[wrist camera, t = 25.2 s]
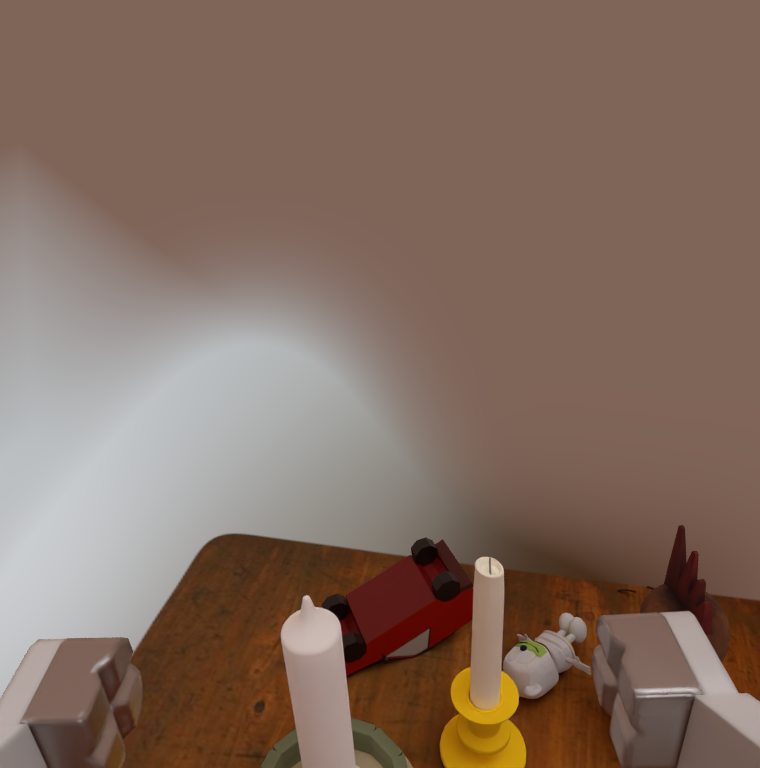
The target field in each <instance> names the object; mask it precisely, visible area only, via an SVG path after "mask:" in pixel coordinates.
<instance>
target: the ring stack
mask: <svg viewBox="0 0 760 768" xmlns="http://www.w3.org/2000/svg"><path fill="white" fill-rule="evenodd" d="M351 726H352V735H353V744H354V754H355V763H356V765H357V766H358V767H360V768H413V767H412V765H411V764H410V762H409V760H408V759H407V758H406V757H405V755H404V754H403V752H402V750H401V749H400V748H399V747H398V746H397V745H396V744H395V743H394V742H393V741H392V740H391V739H390V738H389V737H388V736H387V734H386V733H385V732H384V731H383V730H382V729H381V728H380V727H378V728H377V729H376V725H374V724H371V723H368V722H364V721H361V720H357V719H354V718H351ZM260 768H302V762H301V756H300V750H299V744H298V738H297V732H296V728H295V729H294V730H293V731H291V732H290V733H289V734H287V735H286V736H285V737H283V738H282V739H281V740H279V741H278V742H277V743H275V744H274V745H273V750H272V749H270V750H269V752H268V754H267V756H266V758H265V760H264V761H263V763H262V765H261V767H260Z"/></svg>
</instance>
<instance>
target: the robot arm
mask: <svg viewBox="0 0 760 768" xmlns="http://www.w3.org/2000/svg"><path fill="white" fill-rule="evenodd" d="M596 633H597V636H598V639H599V641H600V644H599V645H598V646H597V647H596V648H595V649H594V650H593V658H592V672H593V682H594V686H595V690H596V694H597V698H598V701H599V704H600V707H601V708H602V709H603V710H604V711H605V712H606V713H607V714H609V715H610V716H611V717H612V718H611V724H610V730H609V733H610V736H611V739H612V742H613V745H614V748H615V750H616V753H617V756H618V759H619V762H620V765H621V768H760V701H758V700H757V699H755V698H754V697H753V696H751V695H750V694H748V693H738V691H737V689H736V687H735V686H734V684H733V682H732V680H731V679H730V677H729V675H728V673H727V672H726V670H725V668H724V666H723V665H722V663H721V661H720V659H719V657H718V656H717V654H716V652H715V650H714V649H713V647H712V645H711V643H710V642H709V640H708V638H707V636H706V635H705V633H704V631H703V629H702V627H701V626H700V624H699V622H698V620H697V619H696V617H695V615H693V614H692V613H691V612H690V611H682V612H661V613H656V612H655V613H637V614H619V615H602V616H600V617H599V619H598V621H597V627H596ZM132 653H133V650H132V647H131V645H130V642H129V639H128V638H69V639H68V638H67V639H40V640H37V641H36V642H35V643H34V644H33V645H32V646H31V647H30V648H29V649H28V651H27V653H26V655H25V656H24V658H23V660H22V662H21V663H20V665H19V667H18V669H17V670H16V672H15V674H14V676H13V678H12V679H11V681H10V683H9V685H8V686H7V688H6V690H5V692H4V693H3V695H2V697H1V699H0V768H121V767H122V764H123V761H124V759H125V756H126V753H127V752H126V749H125V746H124V743H123V740H122V739H124V738H125V737H126V736H127V735H128V734H129V733H130V732H131V731H132V730H133V729H134V728H135V727H136V724H137V721H138V718H139V714H140V711H141V704H142V697H143V687H142V678H141V675H140V672H139V669H137V668H136V667H135V666H133V665H132V664H131V663H129V661H130V659H131V656H132Z"/></svg>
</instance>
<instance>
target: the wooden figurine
mask: <svg viewBox="0 0 760 768" xmlns="http://www.w3.org/2000/svg"><path fill="white" fill-rule="evenodd" d="M697 572H698V553H697V551H692V553H691V555H690V557H689V559H688V561H687V564H686V543H685V528H684V526H683V525H681V526H679V527H678V531H677V535H676V539H675V542H674V546H673V550H672V554H671V558H670V561H669V565H668V569H667V574H666V578H665V582H664V584H663V585H660V586H658V587H657V588H655V589H653V590H652V591H651V592H650V593H649V594H648V596H647V597H646V599H645V600H644V602H643V604H642V605H641V609H640V613H655V612H656V613H661V612H682V611H690V612H691V613H692V614H693V615H695V617H696V619H697V620H698V622H699V624H700V626H701V627H702V629H703V631H704V633H705V635H706V636H707V638H708V640H709V642H710V643H711V645H712V647H713V649H714V650H715V652H716V654H717V656H718V657H719V659H720V661H721V663H722V661H723V659H724V657H725V655H726V652H727V649H728V644H729V620H728V618H727V616H726V614H725V612H724V610H723V609H722V607H721V606H720V604H719V603H718V602H717V601H716V600H715V599H714V598H713V597H712V596H711V595H710V594H708V593H707V592H706V591H705V588H706V582H705V580H704V579H701V580H697Z"/></svg>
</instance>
